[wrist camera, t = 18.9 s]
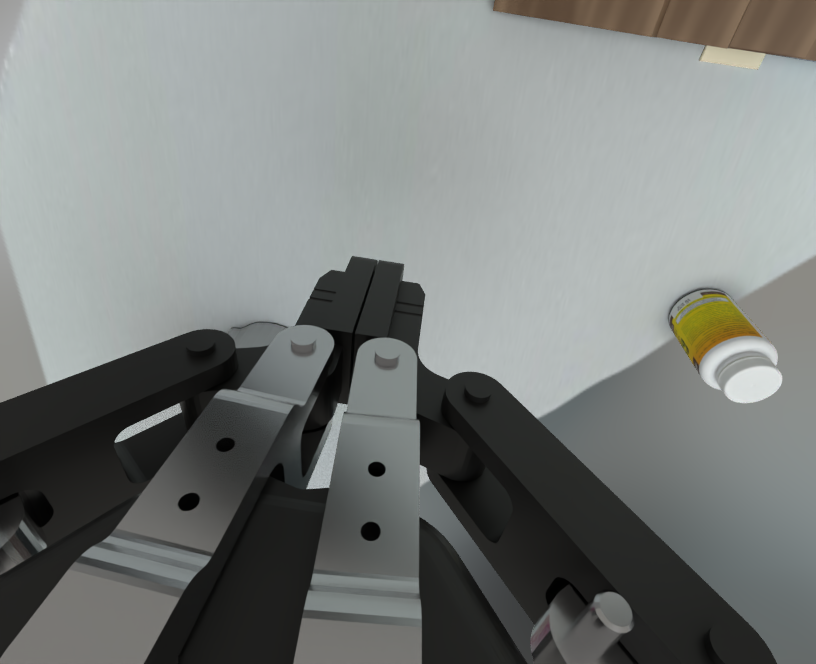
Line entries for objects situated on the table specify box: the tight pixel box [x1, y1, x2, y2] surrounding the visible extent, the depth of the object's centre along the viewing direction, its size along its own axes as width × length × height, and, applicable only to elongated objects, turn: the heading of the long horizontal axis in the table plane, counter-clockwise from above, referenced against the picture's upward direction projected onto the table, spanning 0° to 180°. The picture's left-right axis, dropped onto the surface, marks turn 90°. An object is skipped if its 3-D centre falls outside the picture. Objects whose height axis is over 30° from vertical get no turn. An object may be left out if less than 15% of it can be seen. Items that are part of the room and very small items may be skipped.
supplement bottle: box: [669, 290, 782, 403], centre depth 39 cm, size 6×6×10 cm
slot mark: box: [699, 45, 766, 70], centre depth 29 cm, size 4×7×1 cm, turn 173°
